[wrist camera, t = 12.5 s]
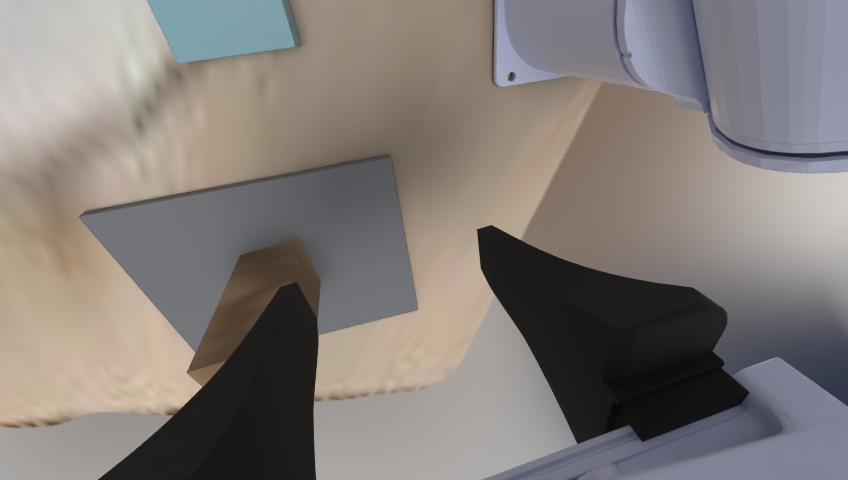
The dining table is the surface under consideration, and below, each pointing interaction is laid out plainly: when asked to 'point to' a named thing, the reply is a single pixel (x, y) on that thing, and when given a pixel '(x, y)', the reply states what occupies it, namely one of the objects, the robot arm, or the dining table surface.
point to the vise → (224, 27)
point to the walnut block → (252, 301)
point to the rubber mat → (268, 242)
